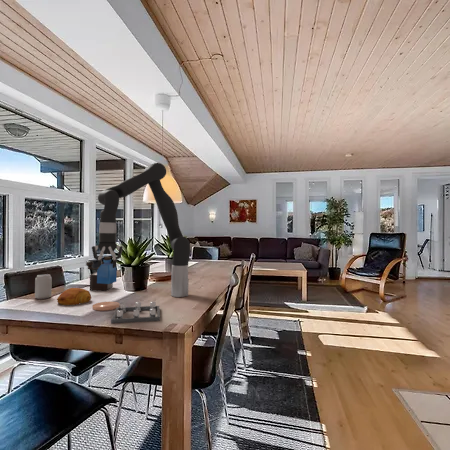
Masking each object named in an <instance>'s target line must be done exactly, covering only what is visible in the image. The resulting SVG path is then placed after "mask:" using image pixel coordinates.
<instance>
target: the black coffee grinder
mask: <svg viewBox="0 0 450 450" xmlns="http://www.w3.org/2000/svg"><path fill="white" fill-rule="evenodd" d="M85 264H86V265H85V266H87V270H93V271H94V270H95V272H93V273H92V274H90V275H89V291H91V292H92V291H93V292H107V291H109V290H111V289H112V287H114V285H113V284H114V283H111V284H101V283H97V270H98V268H99V267H98V266H97V267H93V265H94V262H93V261H92V260H88V261H86V263H85ZM102 264H104V262H103V261H102Z"/></svg>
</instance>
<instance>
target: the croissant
mask: <svg viewBox="0 0 450 450" xmlns="http://www.w3.org/2000/svg"><path fill="white" fill-rule="evenodd" d="M91 299H92V295H91V292H90V290H87V289H85V288H82V287H71V288H70V287H69V288H67V289H66V290H63V292H61V293H60V294H59V295H58V297H57V298H56V300H57V303H58V304H59V305H62V306H63V305H64V306H77V305H78V306H79V305H82V304H86V303H89V302H90V301H91Z"/></svg>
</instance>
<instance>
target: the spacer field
mask: <svg viewBox="0 0 450 450" xmlns="http://www.w3.org/2000/svg"><path fill="white" fill-rule="evenodd" d="M119 303H120V302H119ZM134 305H135V306H127V303H126V302H121V303H120V307H117V308H116V309H114V313H113V315H112V317H111V318H110V319H111V320H110V323H111V324H121V323H122V324H123V323H125V324H126V323H137V322H138V323H142V322H143V323H145V322H146V323H147V322H160V321H161V311H160V305H156V301H150V302H149V305H144V306H142V302H141V301H136V302H135V304H134ZM130 311H131V312H132V314H133V317H124V314H125V313H126V312H130ZM142 311H149V316H145V317H144V316H143V317H142V316H141V317H140V312H142ZM156 313H157V316H156Z"/></svg>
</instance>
